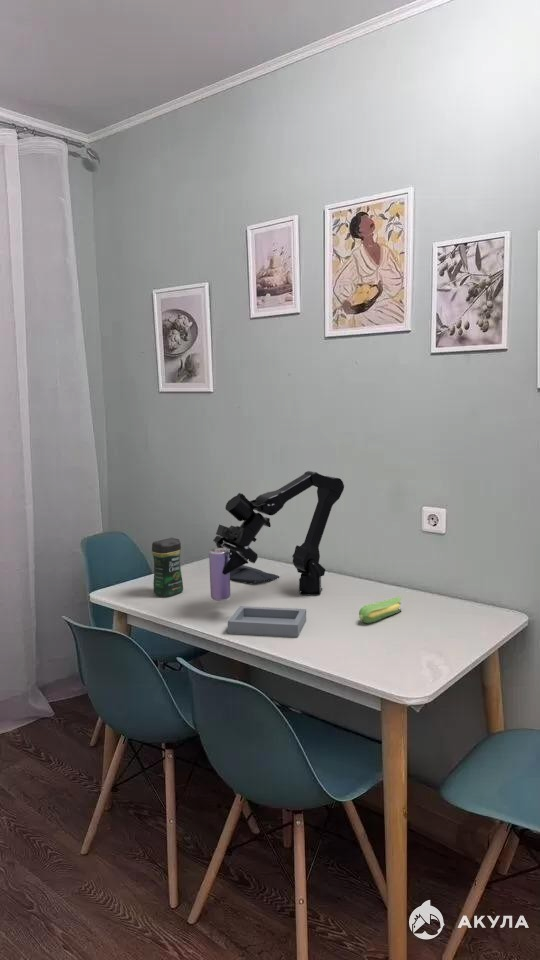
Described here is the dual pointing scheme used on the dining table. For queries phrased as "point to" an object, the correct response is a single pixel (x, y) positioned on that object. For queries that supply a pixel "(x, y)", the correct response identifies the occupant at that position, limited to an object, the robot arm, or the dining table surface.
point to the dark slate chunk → (251, 575)
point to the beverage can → (219, 574)
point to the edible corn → (379, 610)
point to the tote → (267, 621)
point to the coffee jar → (167, 567)
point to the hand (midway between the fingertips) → (218, 571)
